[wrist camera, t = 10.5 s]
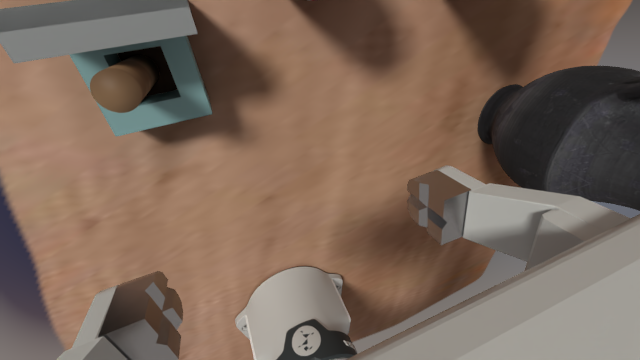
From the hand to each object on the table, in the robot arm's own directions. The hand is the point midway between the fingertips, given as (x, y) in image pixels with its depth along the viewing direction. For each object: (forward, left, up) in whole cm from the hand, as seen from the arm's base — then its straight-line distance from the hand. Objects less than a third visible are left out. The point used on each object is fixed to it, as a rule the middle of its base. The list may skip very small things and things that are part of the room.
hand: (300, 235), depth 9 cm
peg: (+3, +7, -24) cm, 25 cm away
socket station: (+3, +6, -24) cm, 25 cm away
